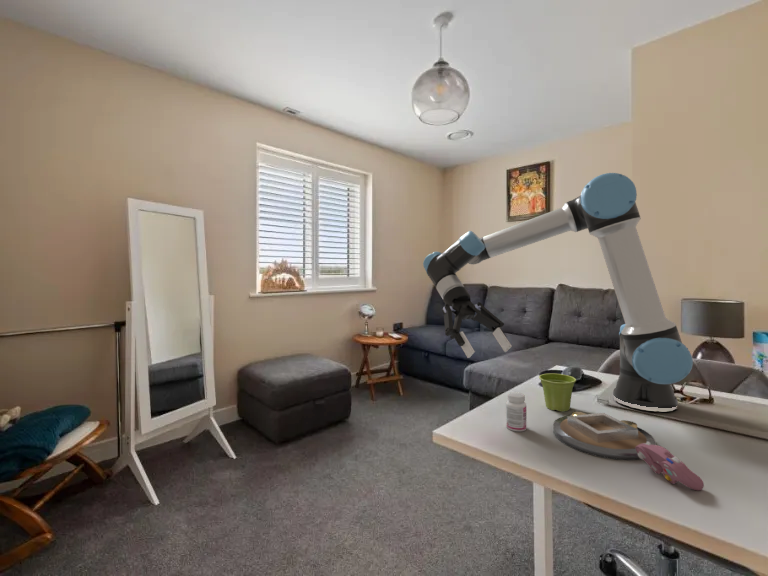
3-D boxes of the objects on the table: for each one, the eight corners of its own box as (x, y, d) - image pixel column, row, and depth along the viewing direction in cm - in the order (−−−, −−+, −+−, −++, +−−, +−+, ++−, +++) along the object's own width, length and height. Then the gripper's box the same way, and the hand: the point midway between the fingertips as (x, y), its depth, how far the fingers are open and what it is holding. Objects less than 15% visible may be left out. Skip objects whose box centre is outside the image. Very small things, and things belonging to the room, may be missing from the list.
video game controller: (641, 471, 71) (626, 441, 71) (660, 460, 72) (645, 430, 71) (687, 502, 62) (670, 468, 61) (709, 489, 62) (692, 454, 61)
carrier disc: (606, 417, 94) (606, 404, 94) (680, 454, 74) (680, 437, 74) (536, 424, 91) (536, 410, 91) (593, 464, 71) (593, 446, 71)
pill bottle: (528, 432, 87) (528, 398, 86) (507, 431, 87) (507, 397, 87) (524, 424, 91) (524, 391, 91) (505, 423, 92) (504, 391, 92)
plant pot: (554, 416, 96) (554, 384, 96) (532, 404, 105) (532, 374, 105) (584, 412, 98) (583, 380, 98) (559, 400, 108) (559, 372, 107)
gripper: (478, 300, 117) (514, 354, 104) (414, 303, 105) (447, 365, 92) (490, 284, 112) (530, 339, 100) (425, 286, 100) (461, 348, 87)
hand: (490, 352), depth 96 cm, fingers open, 13 cm apart
